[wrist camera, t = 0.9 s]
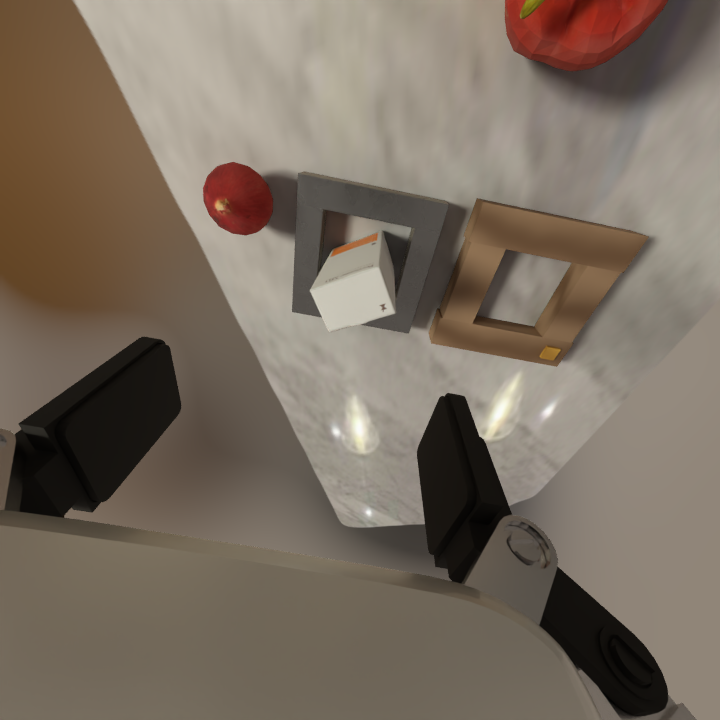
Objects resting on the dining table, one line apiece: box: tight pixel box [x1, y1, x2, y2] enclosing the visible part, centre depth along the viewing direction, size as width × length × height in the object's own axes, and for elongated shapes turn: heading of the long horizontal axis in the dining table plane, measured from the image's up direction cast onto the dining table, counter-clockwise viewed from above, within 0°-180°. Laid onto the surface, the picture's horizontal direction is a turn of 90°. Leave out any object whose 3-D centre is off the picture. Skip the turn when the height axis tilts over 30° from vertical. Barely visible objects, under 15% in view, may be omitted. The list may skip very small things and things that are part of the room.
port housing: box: [429, 199, 648, 366], centre depth 33 cm, size 16×16×3 cm
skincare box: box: [310, 231, 396, 332], centre depth 28 cm, size 6×4×12 cm
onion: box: [203, 162, 273, 235], centre depth 27 cm, size 6×6×8 cm
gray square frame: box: [292, 172, 449, 333], centre depth 32 cm, size 14×14×2 cm
